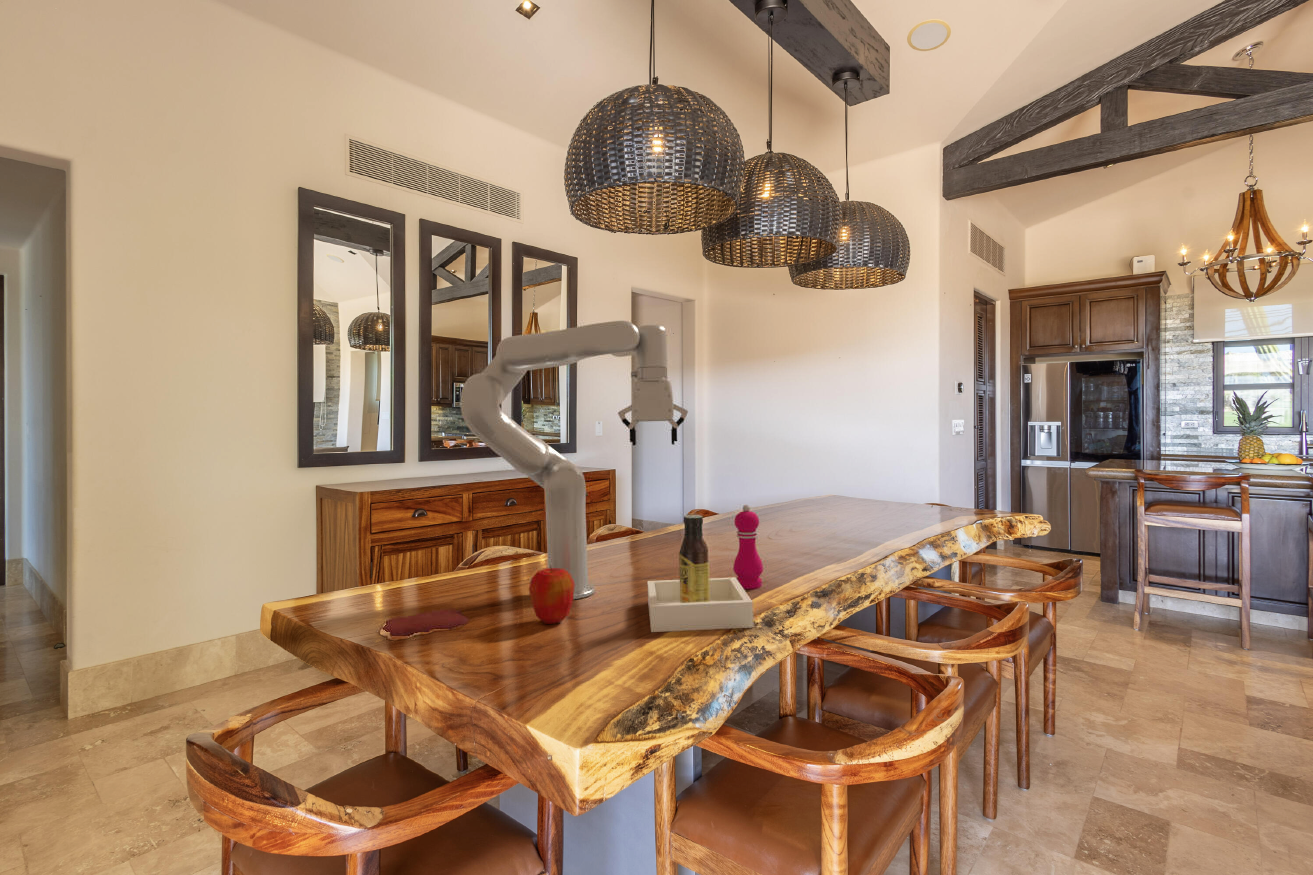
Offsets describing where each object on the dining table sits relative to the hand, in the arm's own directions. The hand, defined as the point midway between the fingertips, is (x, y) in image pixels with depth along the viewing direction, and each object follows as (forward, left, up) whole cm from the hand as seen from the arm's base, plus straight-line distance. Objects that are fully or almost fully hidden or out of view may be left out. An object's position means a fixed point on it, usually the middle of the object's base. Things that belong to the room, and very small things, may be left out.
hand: (653, 444), depth 154 cm
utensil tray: (+7, -24, -35) cm, 43 cm away
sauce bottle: (+7, -24, -35) cm, 43 cm away
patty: (-50, -23, -36) cm, 66 cm away
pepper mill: (+22, -3, -36) cm, 42 cm away
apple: (-23, -25, -36) cm, 49 cm away
